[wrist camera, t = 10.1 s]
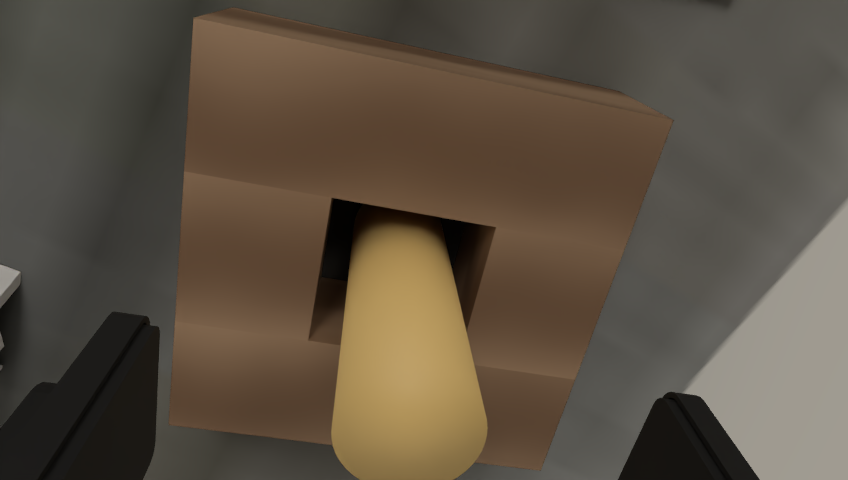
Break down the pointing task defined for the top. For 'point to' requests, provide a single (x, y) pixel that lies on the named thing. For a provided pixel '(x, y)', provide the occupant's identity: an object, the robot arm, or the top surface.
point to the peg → (404, 356)
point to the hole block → (397, 189)
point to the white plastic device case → (7, 288)
